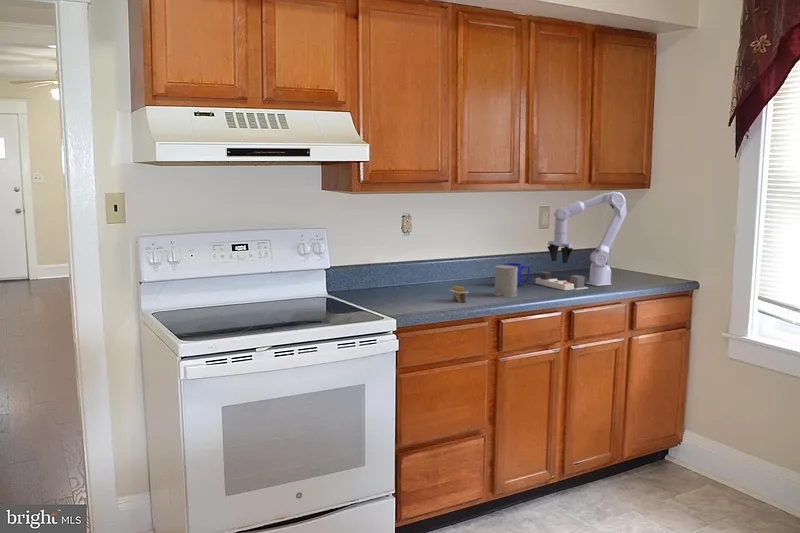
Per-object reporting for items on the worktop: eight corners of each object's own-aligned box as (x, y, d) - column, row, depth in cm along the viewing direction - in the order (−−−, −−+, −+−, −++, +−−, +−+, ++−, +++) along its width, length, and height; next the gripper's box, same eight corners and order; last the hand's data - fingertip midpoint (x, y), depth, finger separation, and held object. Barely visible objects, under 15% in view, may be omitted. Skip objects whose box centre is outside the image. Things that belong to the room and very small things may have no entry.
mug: (529, 287, 310) (530, 266, 308) (502, 286, 312) (503, 265, 310) (529, 284, 317) (530, 263, 316) (503, 283, 320) (504, 262, 318)
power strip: (544, 282, 324) (544, 271, 323) (573, 289, 307) (574, 277, 306) (535, 283, 321) (535, 271, 321) (564, 290, 304) (565, 277, 303)
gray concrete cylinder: (503, 297, 285) (503, 268, 283) (489, 294, 293) (490, 265, 291) (521, 296, 289) (522, 267, 287) (507, 292, 297) (508, 264, 296)
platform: (458, 307, 266) (458, 290, 265) (432, 299, 281) (433, 284, 280) (482, 304, 272) (483, 288, 271) (456, 297, 287) (456, 281, 286)
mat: (577, 286, 315) (577, 285, 315) (588, 288, 309) (588, 287, 309) (565, 287, 311) (565, 286, 311) (576, 289, 305) (576, 288, 305)
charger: (569, 286, 311) (570, 275, 310) (577, 286, 313) (577, 275, 312) (576, 288, 307) (577, 277, 306) (584, 287, 309) (584, 276, 308)
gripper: (543, 232, 323) (542, 260, 325) (564, 234, 310) (563, 264, 312) (555, 231, 326) (554, 259, 328) (576, 234, 313) (575, 263, 315)
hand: (559, 261), depth 320 cm, fingers open, 7 cm apart
